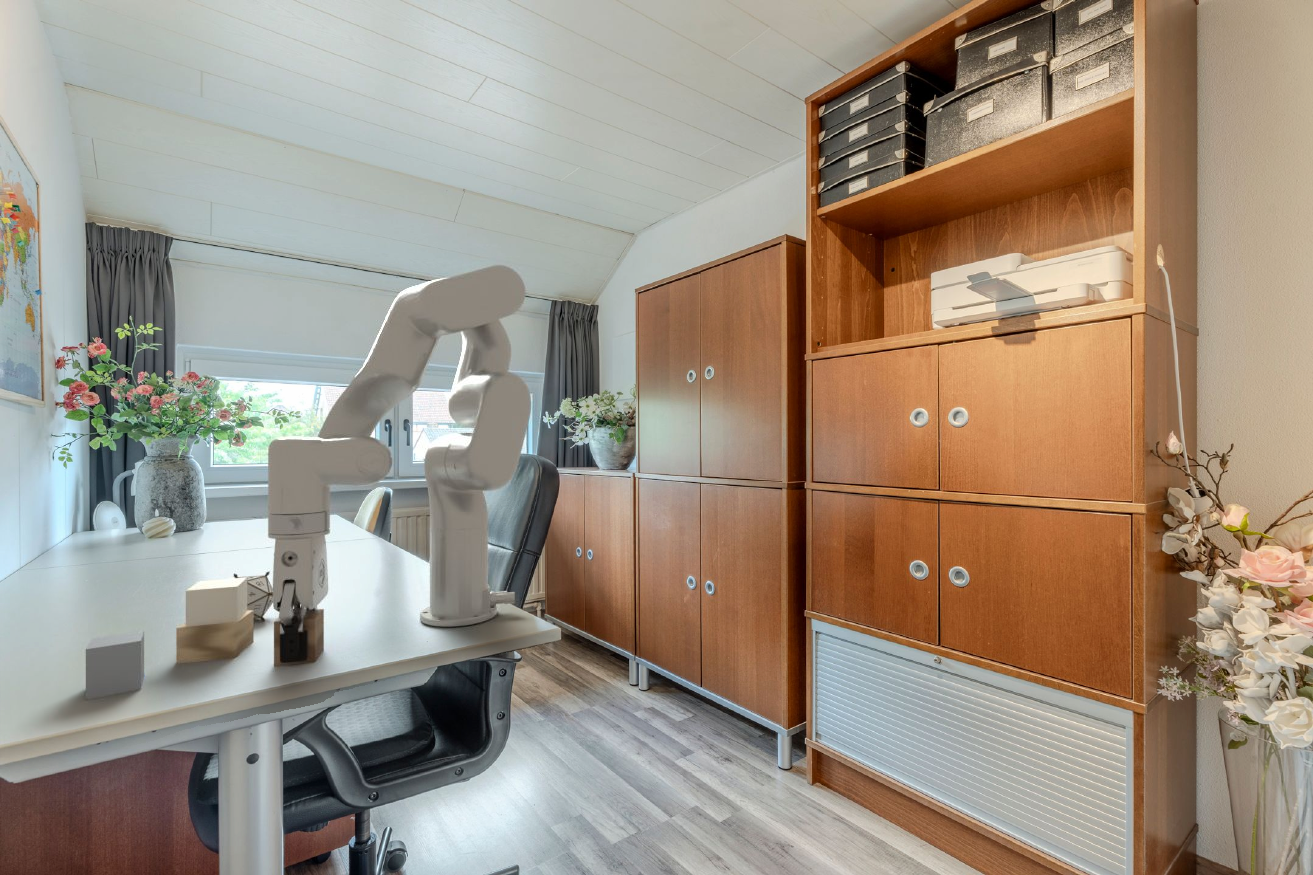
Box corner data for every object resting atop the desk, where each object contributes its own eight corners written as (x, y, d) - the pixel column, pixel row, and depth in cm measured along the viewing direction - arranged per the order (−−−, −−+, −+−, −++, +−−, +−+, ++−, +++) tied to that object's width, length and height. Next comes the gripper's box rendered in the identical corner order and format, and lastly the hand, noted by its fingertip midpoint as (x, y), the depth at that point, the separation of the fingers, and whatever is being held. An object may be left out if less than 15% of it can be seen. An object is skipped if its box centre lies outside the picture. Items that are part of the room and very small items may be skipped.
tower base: (253, 643, 92) (253, 610, 92) (234, 659, 86) (234, 623, 86) (199, 647, 90) (199, 613, 90) (176, 664, 84) (176, 627, 84)
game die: (251, 645, 102) (239, 607, 96) (211, 624, 103) (197, 586, 97) (295, 607, 109) (286, 569, 103) (257, 588, 110) (247, 550, 105)
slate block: (144, 676, 79) (144, 630, 79) (141, 689, 75) (141, 640, 75) (91, 686, 76) (91, 638, 76) (85, 700, 72) (85, 649, 72)
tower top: (247, 610, 92) (247, 577, 92) (237, 621, 86) (237, 586, 86) (198, 615, 90) (198, 581, 90) (185, 626, 84) (185, 590, 84)
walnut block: (323, 649, 89) (323, 608, 89) (315, 661, 84) (315, 618, 84) (284, 653, 87) (284, 611, 87) (273, 665, 83) (273, 621, 83)
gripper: (314, 532, 79) (314, 673, 79) (341, 516, 95) (341, 633, 95) (247, 534, 77) (247, 680, 76) (287, 518, 93) (287, 637, 93)
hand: (299, 652), depth 86 cm, fingers closed on walnut block, 5 cm apart
